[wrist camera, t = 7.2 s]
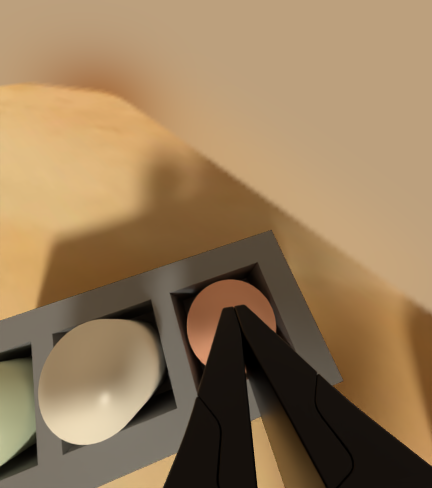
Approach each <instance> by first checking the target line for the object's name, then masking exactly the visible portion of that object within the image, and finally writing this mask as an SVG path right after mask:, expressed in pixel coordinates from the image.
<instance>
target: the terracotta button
mask: <svg viewBox="0 0 432 488" xmlns="http://www.w3.org/2000/svg"><path fill="white" fill-rule="evenodd" d="M242 304H244V305H246V306H247V307H248V308H249V309H250V310H251V311H253V312H254V313H255V314H256V315H257V316H258V317H259V318H260V319H261V320H262V321H263V322H264V323H265V324H267V325H268V326H269V327H270V328H271V329H272V330H273V331H274V332H275V333H276V320H275V315H274V312H273V309H272V307H271V305H270V303H269V302H268V300H267V298H266V297H265V296H264V295H263V294H262V293H261V292H260V291H259V290H258V289H257V288H255V287H254V286H252V285H250V284H248V283H246V282H243V281H239V280H221V281H218V282H215V283H213V284H211V285H209V286H207V287H206V288H205V289H203V290H202V291H201V292H200V293H199V294H198V295H197V297H196V298H195V300H194V301H193V303H192V305H191V307H190V310H189V313H188V318H187V334H188V339H189V342H190V345H191V347H192V349H193V351H194V353H195V354H196V356H197V357H198V358H199V360H200V361H201V362H202V363H203V364H205V365H206V362H207V359H208V355H209V352H210V349H211V345H212V342H213V339H214V335H215V332H216V328H217V325H218V322H219V318H220V315H221V312H222V309H223V308H225V307H231V306H233V307H234V306H236V305H242Z"/></svg>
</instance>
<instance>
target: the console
mask: <svg viewBox="0 0 432 488" xmlns="http://www.w3.org/2000/svg"><path fill="white" fill-rule="evenodd" d="M221 280H239V281H243V282H246V283H248V284H250V285H252V286H254V287H255V288H257V289H258V290H259V291H260V292H261V293H262V294H263V295H264V296H265V297H266V298H267V300H268V302H269V303H270V305H271V307H272V309H273V312H274V315H275V320H276V334H277V335H278V336H279V337H280V338H282V339H283V340H284V341H285V342H286V343H287V344H288V345H289V346H290V347H291V348H292V349H293V350H294V351H295V352H297V353H298V354H299V355H300V356H301V357H302V358H303V359H304V360H305V361H306V362H307V363H308V364H309V365H311V366H312V367H313V368H314V369H315V370H316V371H317V374H320V375H321V376H322V377H324V378H325V379H326V380H327V381H328V382H329V383H330V384H331V385H332V386H333V385H335V384H337V383H340V382H342V381H343V379H342V377H341V375H340V372H339V370H338V368H337V366H336V364H335V362H334V360H333V358H332V356H331V354H330V352H329V349H328V347H327V345H326V343H325V341H324V339H323V337H322V335H321V333H320V331H319V328H318V326H317V324H316V322H315V320H314V318H313V316H312V314H311V312H310V310H309V308H308V305H307V303H306V301H305V299H304V297H303V295H302V293H301V291H300V289H299V287H298V285H297V282H296V280H295V278H294V276H293V274H292V272H291V270H290V268H289V266H288V264H287V261H286V259H285V257H284V255H283V253H282V251H281V249H280V247H279V245H278V243H277V241H276V238H275V236H274V234H273V232H272V230H270V231H267V232H264V233H261V234H258V235H255V236H252V237H249V238H246V239H243V240H240V241H237V242H234V243H231V244H228V245H225V246H222V247H219V248H216V249H213V250H210V251H207V252H204V253H201V254H198V255H195V256H192V257H189V258H186V259H183V260H180V261H177V262H174V263H171V264H168V265H165V266H162V267H159V268H156V269H153V270H150V271H147V272H144V273H141V274H138V275H135V276H132V277H129V278H126V279H123V280H120V281H117V282H114V283H111V284H108V285H105V286H102V287H99V288H96V289H93V290H90V291H87V292H84V293H81V294H78V295H75V296H72V297H69V298H66V299H63V300H60V301H57V302H54V303H51V304H48V305H45V306H42V307H39V308H36V309H33V310H30V311H28V312H25V313H22V314H19V315H16V316H13V317H10V318H7V319H4V320H1V321H0V362H2V361H7V360H13V359H18V358H24V357H29V356H32V363H33V382H34V400H35V419H36V437H37V442H36V443H35V444H33V445H32V446H30V447H29V448H27V449H26V450H24V451H23V452H21V453H20V454H18V455H17V456H15V457H14V458H12V459H11V460H9V461H8V462H6V463H5V464H3V465H2V466H0V488H97V487H99V486H101V485H104V484H106V483H108V482H111V481H113V480H115V479H118V478H120V477H122V476H125V475H127V474H129V473H132V472H134V471H136V470H138V469H141V468H143V467H145V466H148V465H150V464H152V463H155V462H157V461H159V460H162V459H164V458H166V457H169V456H171V455H173V454H175V453H177V452H178V449H179V447H180V444H181V441H182V439H183V436H184V434H185V431H186V428H187V425H188V422H189V418H190V415H191V412H192V409H193V406H194V402H195V399H196V397H197V393H198V389H199V386H200V383H201V379H202V376H203V372H204V369H205V366H206V365H205V364H203V363H202V362H201V361H200V360H199V358H198V357H197V356H196V354H195V353H194V351H193V349H192V347H191V345H190V342H189V339H188V334H187V318H188V313H189V310H190V307H191V305H192V303H193V301H194V300H195V298H196V297H197V295H198V294H199V293H200V292H201V291H202V290H203V289H205V288H206V287H207V286H209V285H211V284H213V283H215V282H218V281H221ZM98 319H123V320H145V321H149V322H151V323H153V324H155V325H157V326H158V331H159V335H160V339H161V343H162V347H163V351H164V355H165V360H166V364H167V368H168V374H167V377H166V379H165V380H164V382H163V383H162V385H161V386H160V387H159V389H158V390H157V391H156V392H155V393H154V394H153V395H152V396H151V398H150V399H149V400H148V401H147V402H146V403H145V404H144V406H143V407H142V408H141V409H140V410H139V411H138V412H137V413H136V415H135V416H134V417H133V418H132V419H131V420H130V421H129V422H128V423H127V425H126V426H125V427H124V428H122V429H121V430H120V431H119V432H118V433H116V434H115V435H113V436H112V437H110V438H108V439H106V440H104V441H101V442H98V443H95V444H89V445H78V444H72V443H69V442H66V441H64V440H62V439H60V438H59V437H57V436H56V435H55V434H54V433H53V432H52V431H51V430H50V429H49V428H48V426H47V425H46V423H45V421H44V419H43V417H42V414H41V411H40V407H39V400H38V387H39V380H40V375H41V372H42V369H43V366H44V364H45V361H46V359H47V357H48V356H49V354H50V352H51V351H52V349H53V348H54V346H55V345H56V344H57V343H58V342H59V340H60V339H61V338H62V337H63V336H65V335H66V334H67V333H68V332H69V331H71V330H72V329H74V328H75V327H77V326H79V325H81V324H83V323H86V322H88V321H92V320H98ZM246 380H247V390H248V399H249V409H250V419H251V421H252V420H254V419H256V418H259V417H261V415H260V412H259V409H258V406H257V403H256V400H255V397H254V394H253V391H252V388H251V385H250V382H249V379H248V376H247V373H246Z"/></svg>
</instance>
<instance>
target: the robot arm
mask: <svg viewBox="0 0 432 488" xmlns="http://www.w3.org/2000/svg"><path fill="white" fill-rule="evenodd" d="M246 373H247V376H248V379H249V382H250V385H251V388H252V391H253V394H254V397H255V400H256V403H257V406H258V409H259V412H260V415H261V418H262V421H263V424H264V427H265V430H266V433H267V436H268V439H269V442H270V445H271V448H272V450H273V453H274V456H275V459H276V462H277V465H278V468H279V471H280V474H281V477H282V480H283V483H284V486H285V488H432V466H431V465H429V464H428V463H427V462H426V461H424V460H423V459H422V458H421V457H419V456H418V455H417V454H415V453H414V452H413V451H412V450H410V449H409V448H408V447H407V446H405V445H404V444H403V443H401V442H400V441H399V440H398V439H396V438H395V437H394V436H393V435H391V434H390V433H389V432H387V431H386V430H385V429H384V428H382V427H381V426H380V425H379V424H377V423H376V422H375V421H374V420H372V419H371V418H370V417H369V416H367V415H366V414H365V413H364V412H362V411H361V410H360V409H359V408H358V407H356V406H355V405H354V404H353V403H351V402H350V401H349V400H348V399H347V398H346V397H344V396H343V395H342V394H341V393H340V392H339V391H338V390H337V389H335V388H334V387H333V386H332V385H331V384H330V383H329V382H328V381H327V380H326V379H325V378H324V377H322V376H321V375H320V374H317V371H316V370H315V369H314V368H313V367H312V366H311V365H309V364H308V363H307V362H306V361H305V360H304V359H303V358H302V357H301V356H300V355H299V354H298V353H297V352H295V351H294V350H293V349H292V348H291V347H290V346H289V345H288V344H287V343H286V342H285V341H284V340H283V339H282V338H280V337H279V336H278V335H277V334H276V333H275V332H274V331H273V330H272V329H271V328H270V327H269V326H268V325H267V324H265V323H264V322H263V321H262V320H261V319H260V318H259V317H258V316H257V315H256V314H255V313H254V312H253V311H251V310H250V309H249V308H248V307H247V306H246V305H244V304H242V305H236V306H234V307H233V306H231V307H225V308H223V309H222V312H221V315H220V318H219V322H218V325H217V328H216V332H215V335H214V339H213V342H212V345H211V349H210V352H209V355H208V359H207V362H206V366H205V369H204V372H203V376H202V379H201V383H200V386H199V389H198V393H197V397H196V399H195V402H194V406H193V409H192V412H191V415H190V418H189V422H188V425H187V428H186V431H185V434H184V436H183V439H182V441H181V444H180V447H179V449H178V452H177V455H176V457H175V460H174V462H173V465H172V467H171V469H170V472H169V474H168V477H167V479H166V482H165V484H164V486H163V488H258V487H257V477H256V468H255V458H254V448H253V438H252V429H251V419H250V409H249V399H248V390H247V380H246Z"/></svg>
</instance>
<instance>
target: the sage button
mask: <svg viewBox="0 0 432 488" xmlns="http://www.w3.org/2000/svg"><path fill="white" fill-rule="evenodd" d="M36 442H37V437H36V419H35V400H34V382H33V363H32V356H29V357H24V358H18V359H13V360H7V361H2V362H0V466H2V465H3V464H5V463H6V462H8V461H9V460H11V459H12V458H14V457H15V456H17V455H18V454H20V453H21V452H23V451H24V450H26V449H27V448H29V447H30V446H32V445H33V444H35V443H36Z"/></svg>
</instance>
